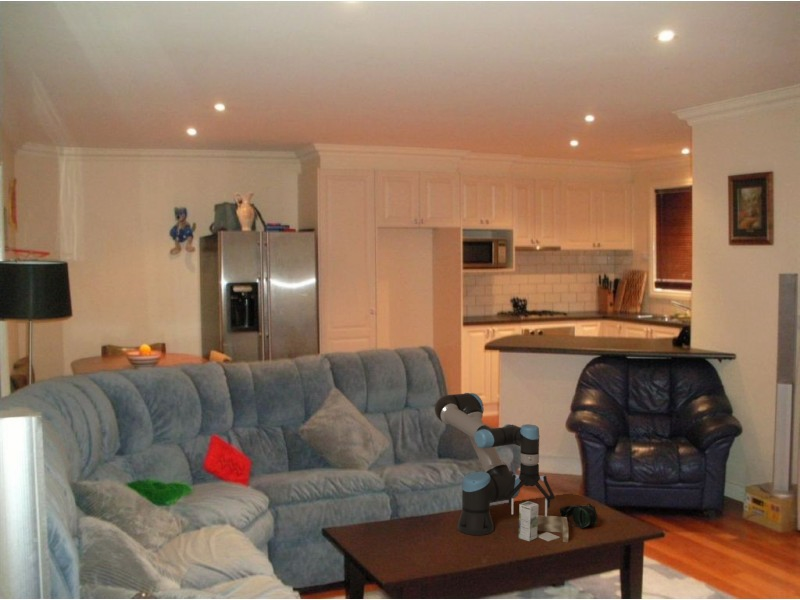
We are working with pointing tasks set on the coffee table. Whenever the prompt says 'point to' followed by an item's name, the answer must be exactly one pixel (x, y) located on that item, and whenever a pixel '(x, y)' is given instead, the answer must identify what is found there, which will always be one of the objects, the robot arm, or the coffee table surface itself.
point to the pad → (548, 536)
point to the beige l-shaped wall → (554, 525)
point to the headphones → (580, 515)
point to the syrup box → (528, 521)
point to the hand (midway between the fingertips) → (529, 514)
